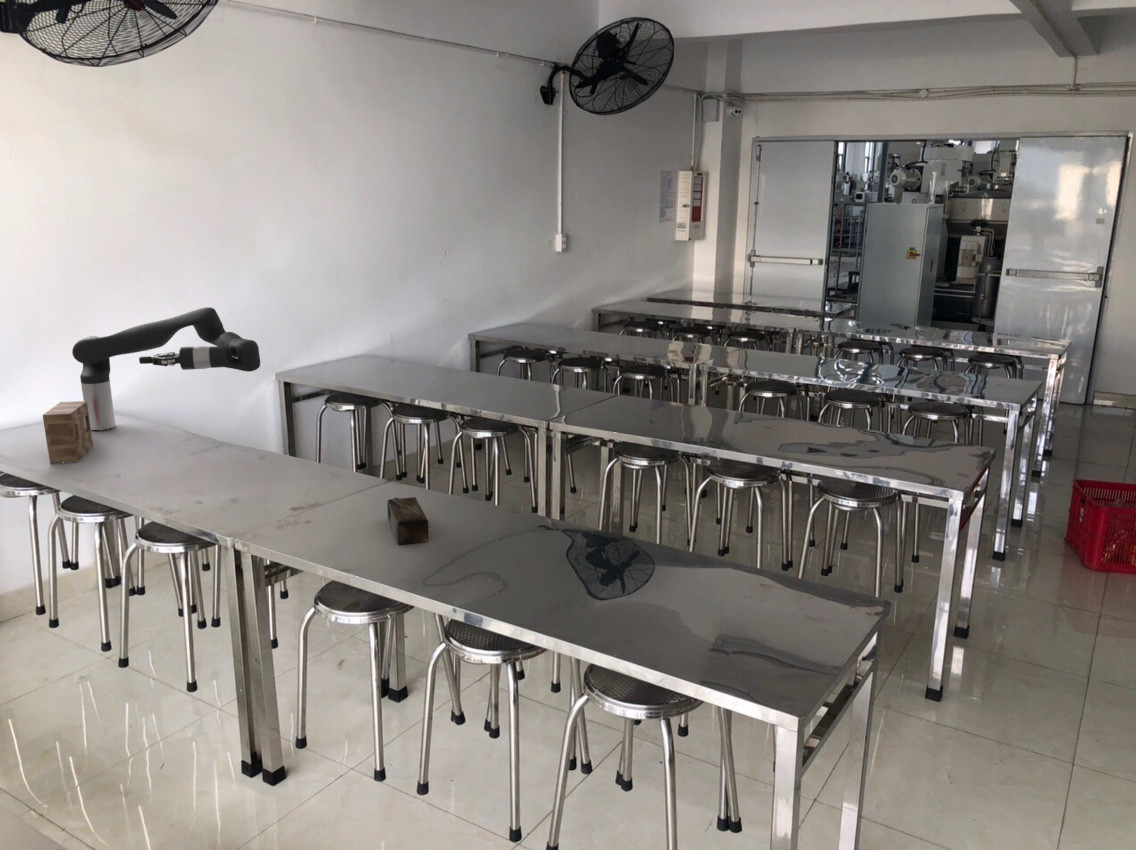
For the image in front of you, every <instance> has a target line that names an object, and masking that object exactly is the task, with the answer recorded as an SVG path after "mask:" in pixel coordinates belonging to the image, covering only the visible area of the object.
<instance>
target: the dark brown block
mask: <svg viewBox="0 0 1136 850" xmlns="http://www.w3.org/2000/svg"><path fill="white" fill-rule="evenodd" d="M386 507H387V520H388V523H389V526H390V528H391V531H392V533H393V536H394V539H395V542H396V544H397V546H399V545H400V546H401V545H402V546H404V545H411V544H421V543H428V542H429V519H428V518H427V516H426V514H425V512H424V510H423V509H422V507H421V505H420V503H419V501H418V498H417V497H416V496H415V497H404V498H403V497H401V498H400V497H393V498H390V499H388V500H387V506H386Z"/></svg>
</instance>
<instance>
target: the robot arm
mask: <svg viewBox="0 0 1136 850" xmlns="http://www.w3.org/2000/svg"><path fill="white" fill-rule="evenodd" d="M191 326H193V328H194V330H195V332H196V334H197V336H198V337H199V338H200V339H201V340H203V342H206V343H208V344H211V345H213V346H204V345H203V346H201V345H200V346H199V345H198V346H181V347H180V348H179V350H178V353H176V352H175V351H170V352H164V353H162V352H161V353H156V354H153V355H148V356H147V355H146V356H143V355H142V356H140V357H139V358H138V360H139V364H141V365H147V364H152V365H153V366H160V367H162V366H163V367H168V366H169V367H170V366H171V367H172V366H173V367H174V366H175V365H178V364H179V366H180V368H181V370H182V371H186V370H187V371H188V370H190V371H191V370H206V369H215V368H216V369H217V368H227V369H233V370H237V371H242V372H255V371H257V370H258V369H259V368H261V358H260V357H261V355H260V349H259V345H258V343H257V342H256V341H254V340H253V339H247V338H243V337H242V336H240V335H238V334H237V333H235V332H232V331H226V330H225V328H224V325H223V323H222V320H221V318H220V316H219V315H218V312H217V311H216V309H215V308H213V307H203V308H197V309H194V310H191V311H189V312H186V313H183V314H180V315H177V316H172V317H169V318H165V319H161V320H156V321H152V322H146V323H143V324H139V325H135V326H132V327H129V328H125V329H124V330H121V331H119V332H115V333H113V334H110V335H107V336H102V337H101V336H97V335H90V336H86V337H84V338H81V339H79V340H78V341H77V342H76V343H75V344H74V345H73V347H72V357H73V358H74V359H75V360H76V361H77V362H79V363H80V364H82V371H81V373H80V385H81V391H82V401H87V405H88V412H89V420H90V427H91V431H92V430H99V431H106V430H105V429H107V430H111V429H114V428H115V427H116V418H115V410H114V409H115V408H114V403H113V402H114V401H113V396H112V395H113V394H112V388H111V387H112V386H111V382H110V381H111V380H110V379H111V378H110V374H111V362H110V360H111V359H110V358H113V357H117V356H121V355H128V354H134V353H141V352H145V351H150V350H154V349H158V348H161V347H163V346H165V345H166V344H167V343H168V342H169V341H170V340H171V339H172V338H173V337H174V336H175V335H176V334H177V332H179V331H181V330H182V329H184V328H187V327H191ZM110 428H111V429H110Z"/></svg>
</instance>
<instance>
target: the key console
mask: <svg viewBox="0 0 1136 850" xmlns="http://www.w3.org/2000/svg"><path fill="white" fill-rule="evenodd" d="M84 417H85V419H84ZM42 419H43V426H44V434H45V440H46V445H47V446H46V447H47V452H48V453H47V454H48V459H49V464H50V463H61V464H67V463H66V462H78V461H79V460H80V459H81V458H82V457H83V456H84V455H85V454H86V453H87V452H88V451H89V450H90V449H91V448H92V447H93V448H94V444H93V443H94V442H93V435H92V430H91V427H90V420H89V412H88V405H87V401H84V400H82V401H80V400H79V401H60V402H58V403H57V404H56V405H54V406H53V407H52V408H50V409H49V410H48V411H46V412H45V413H43V414H42ZM85 420H86V426H85ZM74 426H75V434H74ZM86 427H87V429H86ZM75 435H76V439H75ZM93 448H92V449H93ZM92 449H91V450H92ZM91 450H90V451H91ZM90 451H89V452H90ZM89 452H88V453H89ZM88 453H87V454H88ZM87 454H86V455H87ZM86 455H85V456H86ZM85 456H84V457H85ZM84 457H83V458H84ZM83 458H82V459H83ZM82 459H81V460H82ZM81 460H80V461H81ZM80 461H79V462H80ZM63 462H64V463H63ZM79 462H78V463H79Z"/></svg>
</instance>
